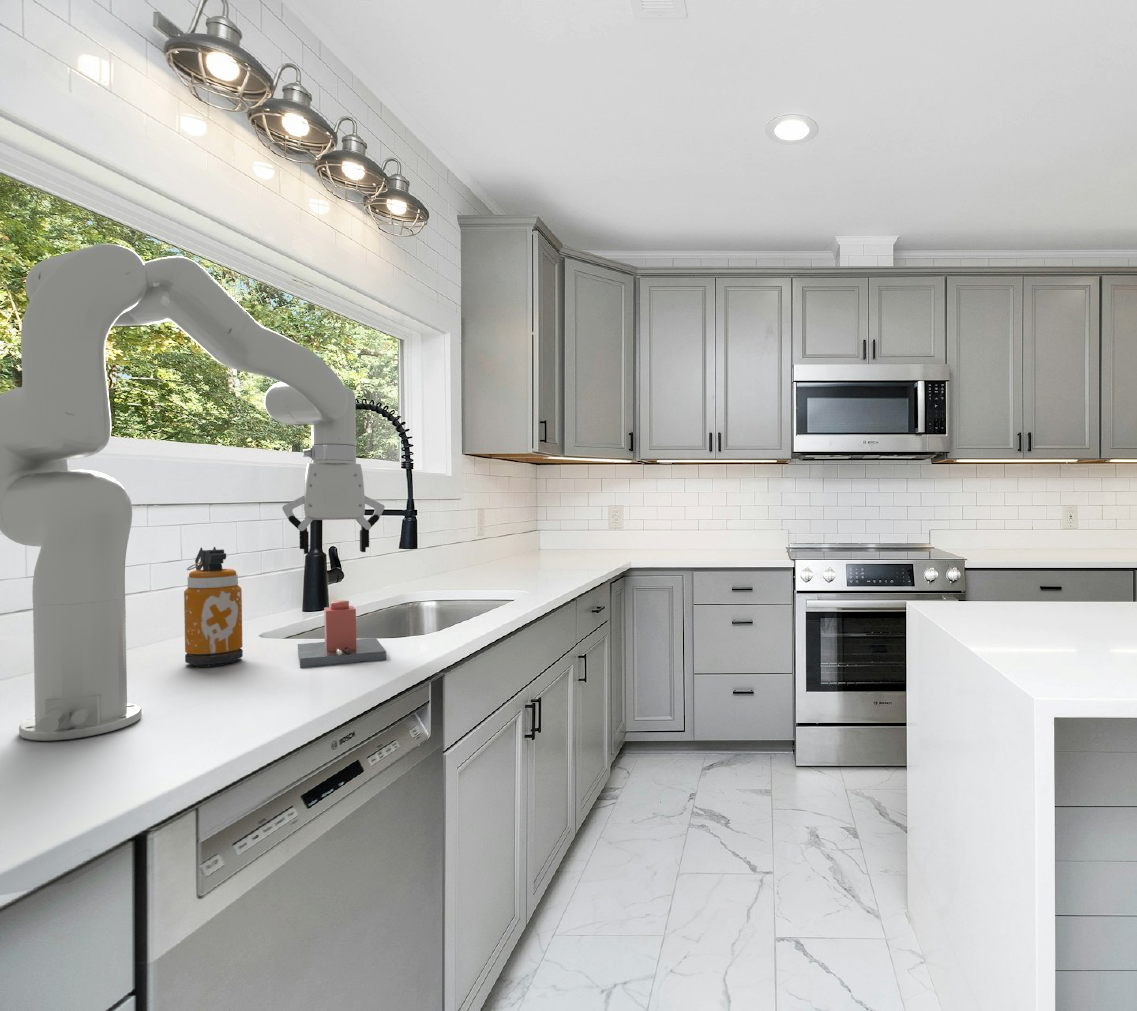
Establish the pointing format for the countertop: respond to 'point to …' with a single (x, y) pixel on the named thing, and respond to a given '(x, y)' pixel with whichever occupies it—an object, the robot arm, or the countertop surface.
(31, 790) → the countertop surface
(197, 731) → the countertop surface
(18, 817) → the countertop surface
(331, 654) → the grey plate with peg
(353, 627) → the pink cube with dome
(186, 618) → the canister
